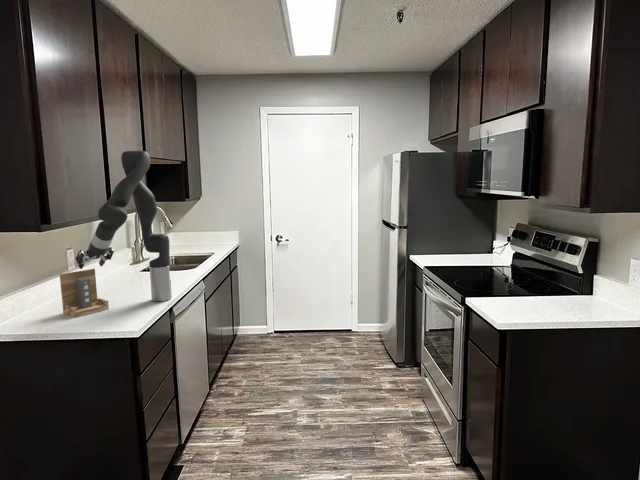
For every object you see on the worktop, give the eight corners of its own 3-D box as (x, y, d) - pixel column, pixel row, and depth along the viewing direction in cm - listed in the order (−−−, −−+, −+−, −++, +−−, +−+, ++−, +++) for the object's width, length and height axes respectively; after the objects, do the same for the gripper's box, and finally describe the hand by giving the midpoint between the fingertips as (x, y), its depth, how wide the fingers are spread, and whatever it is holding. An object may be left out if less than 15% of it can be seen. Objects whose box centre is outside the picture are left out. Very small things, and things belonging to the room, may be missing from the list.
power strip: (92, 306, 193) (90, 278, 191) (83, 308, 190) (80, 280, 188) (87, 304, 196) (84, 277, 194) (78, 306, 192) (75, 279, 191)
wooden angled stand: (108, 309, 195) (105, 271, 193) (75, 317, 183) (71, 277, 181) (96, 305, 202) (93, 268, 199) (63, 313, 190) (59, 274, 187)
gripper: (114, 234, 185) (103, 257, 193) (80, 236, 173) (70, 261, 182) (121, 246, 182) (109, 270, 190) (86, 250, 171) (76, 275, 179)
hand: (90, 266), depth 186 cm, fingers open, 8 cm apart
